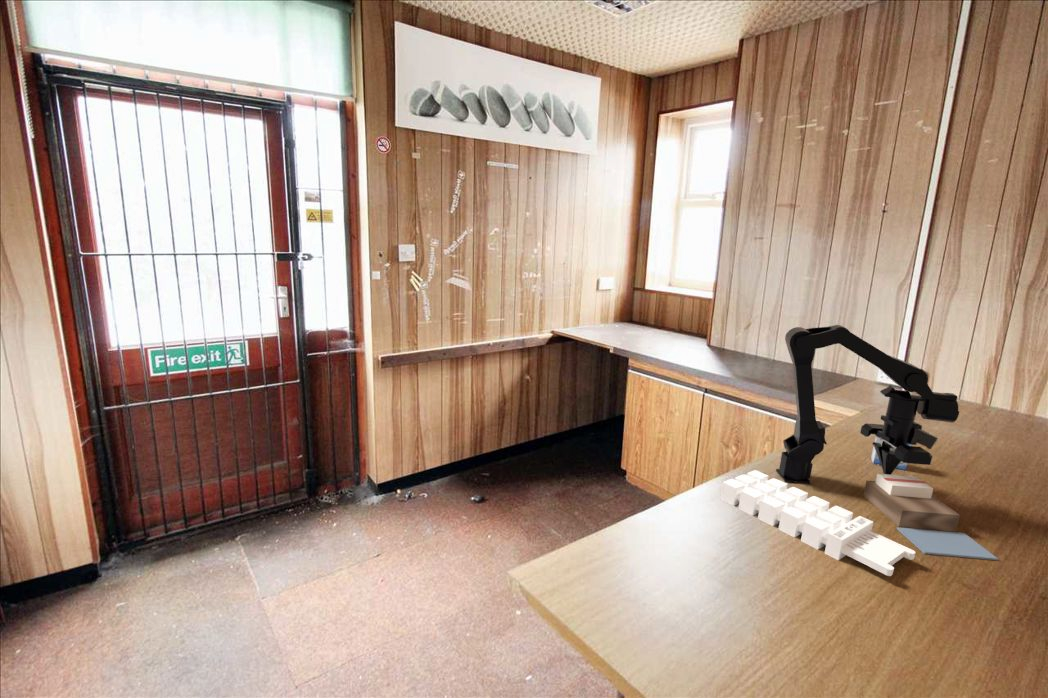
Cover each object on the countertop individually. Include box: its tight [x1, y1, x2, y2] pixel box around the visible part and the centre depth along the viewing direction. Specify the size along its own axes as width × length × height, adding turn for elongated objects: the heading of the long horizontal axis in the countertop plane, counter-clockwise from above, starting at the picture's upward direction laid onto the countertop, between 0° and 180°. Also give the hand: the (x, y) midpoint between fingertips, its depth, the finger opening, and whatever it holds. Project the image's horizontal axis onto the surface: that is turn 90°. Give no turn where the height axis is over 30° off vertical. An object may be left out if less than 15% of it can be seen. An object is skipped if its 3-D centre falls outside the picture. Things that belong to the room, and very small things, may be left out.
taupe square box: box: [862, 480, 961, 532], centre depth 120 cm, size 12×14×4 cm
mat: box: [896, 526, 999, 561], centre depth 109 cm, size 14×9×1 cm, turn 86°
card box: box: [875, 473, 934, 499], centre depth 123 cm, size 9×6×3 cm, turn 86°
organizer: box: [720, 469, 916, 577], centre depth 112 cm, size 13×5×35 cm
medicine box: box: [870, 436, 913, 471], centre depth 146 cm, size 8×4×9 cm, turn 62°
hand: (886, 474), depth 129 cm, fingers closed
